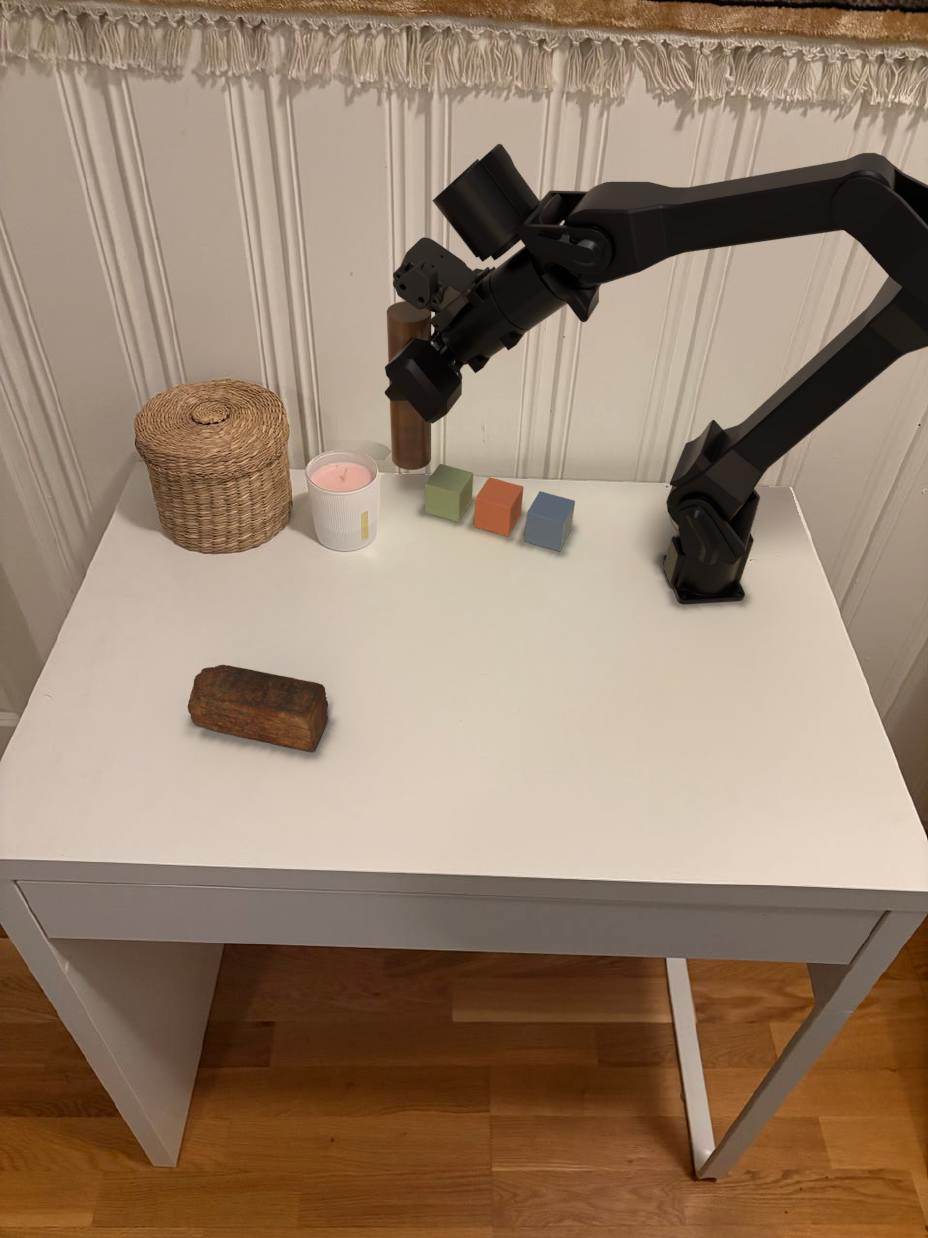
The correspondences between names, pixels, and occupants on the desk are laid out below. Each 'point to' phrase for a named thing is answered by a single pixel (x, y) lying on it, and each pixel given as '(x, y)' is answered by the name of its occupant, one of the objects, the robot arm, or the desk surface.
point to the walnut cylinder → (405, 421)
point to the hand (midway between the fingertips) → (397, 384)
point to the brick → (259, 706)
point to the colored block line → (499, 506)
